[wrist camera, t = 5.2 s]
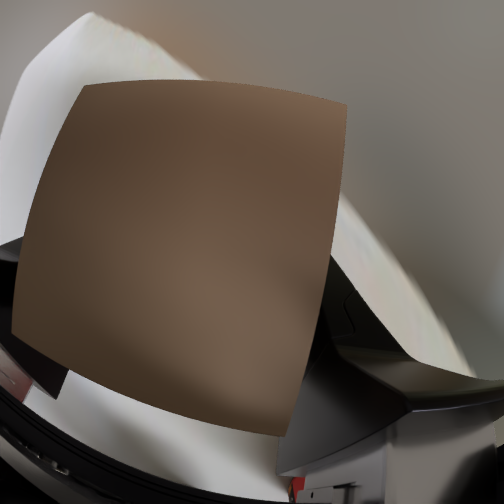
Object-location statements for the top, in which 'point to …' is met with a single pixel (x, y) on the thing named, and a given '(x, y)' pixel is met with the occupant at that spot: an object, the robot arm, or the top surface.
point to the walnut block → (185, 245)
